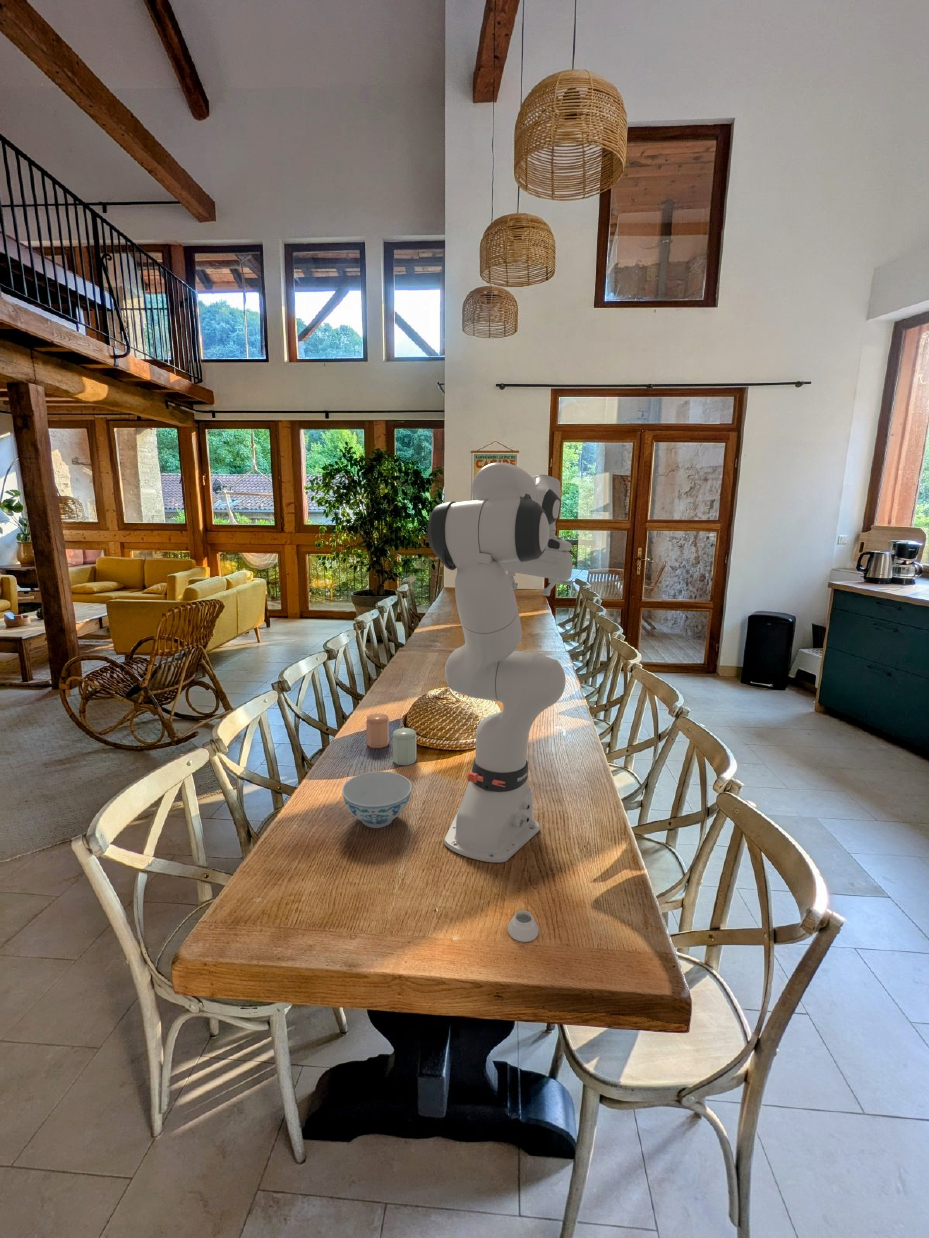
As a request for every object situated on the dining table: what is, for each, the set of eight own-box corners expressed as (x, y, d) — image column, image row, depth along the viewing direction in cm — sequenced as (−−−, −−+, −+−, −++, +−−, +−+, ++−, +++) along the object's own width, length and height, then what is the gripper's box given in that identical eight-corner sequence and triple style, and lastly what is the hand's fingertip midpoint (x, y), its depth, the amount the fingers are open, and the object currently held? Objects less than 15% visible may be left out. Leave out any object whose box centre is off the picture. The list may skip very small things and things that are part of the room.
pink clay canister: (392, 744, 163) (392, 718, 161) (374, 749, 159) (374, 723, 157) (381, 737, 167) (380, 711, 166) (363, 742, 163) (363, 716, 162)
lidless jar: (509, 919, 96) (506, 941, 91) (509, 904, 96) (507, 925, 91) (538, 923, 95) (537, 945, 91) (539, 908, 95) (538, 930, 90)
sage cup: (420, 760, 153) (420, 733, 151) (401, 767, 149) (401, 738, 147) (407, 753, 157) (407, 726, 156) (389, 759, 153) (389, 731, 152)
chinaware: (393, 845, 116) (393, 811, 114) (329, 830, 120) (328, 797, 119) (422, 808, 129) (422, 777, 128) (364, 796, 134) (363, 766, 132)
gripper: (496, 534, 149) (489, 586, 151) (570, 544, 139) (561, 599, 142) (505, 535, 154) (499, 585, 157) (577, 545, 145) (569, 598, 147)
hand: (529, 592), depth 149 cm, fingers open, 8 cm apart
